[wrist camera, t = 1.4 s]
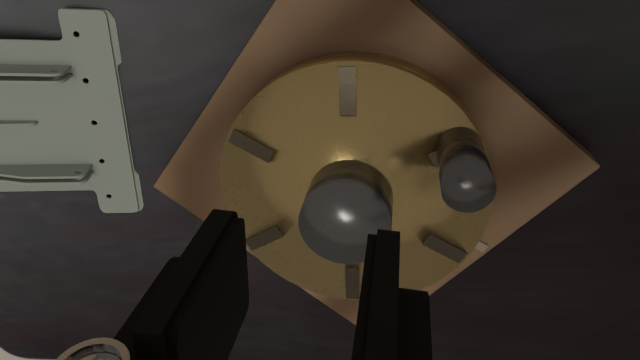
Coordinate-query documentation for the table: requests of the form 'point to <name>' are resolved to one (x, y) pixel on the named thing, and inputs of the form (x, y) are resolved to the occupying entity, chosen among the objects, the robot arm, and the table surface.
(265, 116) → the rotary dial
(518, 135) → the base plate
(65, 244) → the table surface
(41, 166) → the metal bracket
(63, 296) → the table surface
